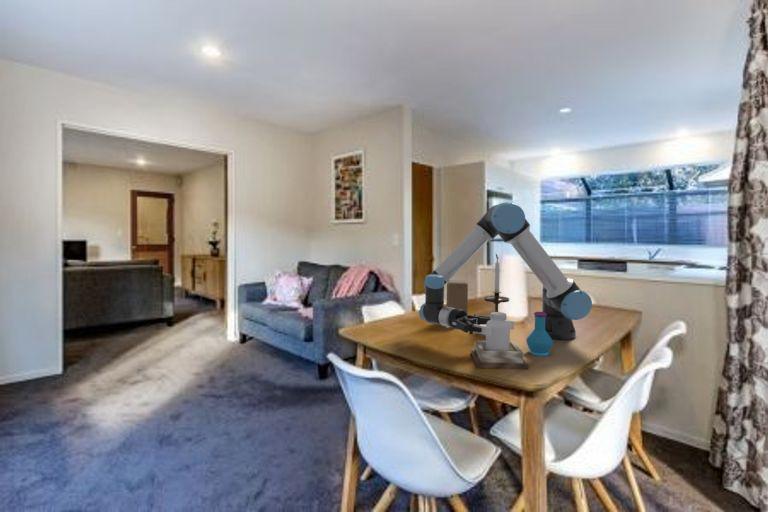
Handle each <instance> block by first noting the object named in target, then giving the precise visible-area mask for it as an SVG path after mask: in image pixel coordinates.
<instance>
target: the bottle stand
mask: <svg viewBox="0 0 768 512" xmlns="http://www.w3.org/2000/svg"><path fill="white" fill-rule="evenodd" d="M474 343H475V347H474V348H471V350H470V353H471V355H472V358H473V360H474V362H475V364H476V366H477V368H478V369H504V370H505V369H507V370H529V364H528V363H527V361H526V360H525V359H524V352H523V351H522V349H520V347H519V346H518V345H517V344H516V342H515V341H513V340H510V349H509V351H486V340H475V342H474Z"/></svg>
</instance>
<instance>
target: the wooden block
mask: <svg viewBox="0 0 768 512" xmlns="http://www.w3.org/2000/svg"><path fill="white" fill-rule="evenodd" d="M468 291H469V283H468V281H467V280H451V279H450V280H449V281H448V282H447V283H446V307H451V308H455V309H461V310H464V311H465V312H466V314H467V316H468V315H469V314H468V311H469V310H468V303H469V299H468V298H469V297H468V296H469V295H468V294H469V293H468Z"/></svg>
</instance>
